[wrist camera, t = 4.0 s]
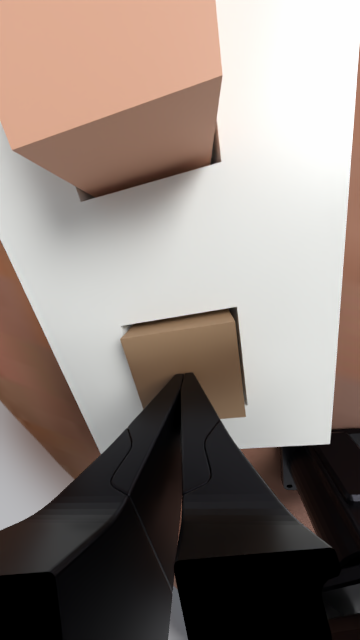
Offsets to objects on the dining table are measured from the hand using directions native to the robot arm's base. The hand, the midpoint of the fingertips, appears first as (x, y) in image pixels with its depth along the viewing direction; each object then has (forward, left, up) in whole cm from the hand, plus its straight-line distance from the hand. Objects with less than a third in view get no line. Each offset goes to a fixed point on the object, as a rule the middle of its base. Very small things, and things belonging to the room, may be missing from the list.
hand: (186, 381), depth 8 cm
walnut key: (0, 0, -4) cm, 4 cm away
